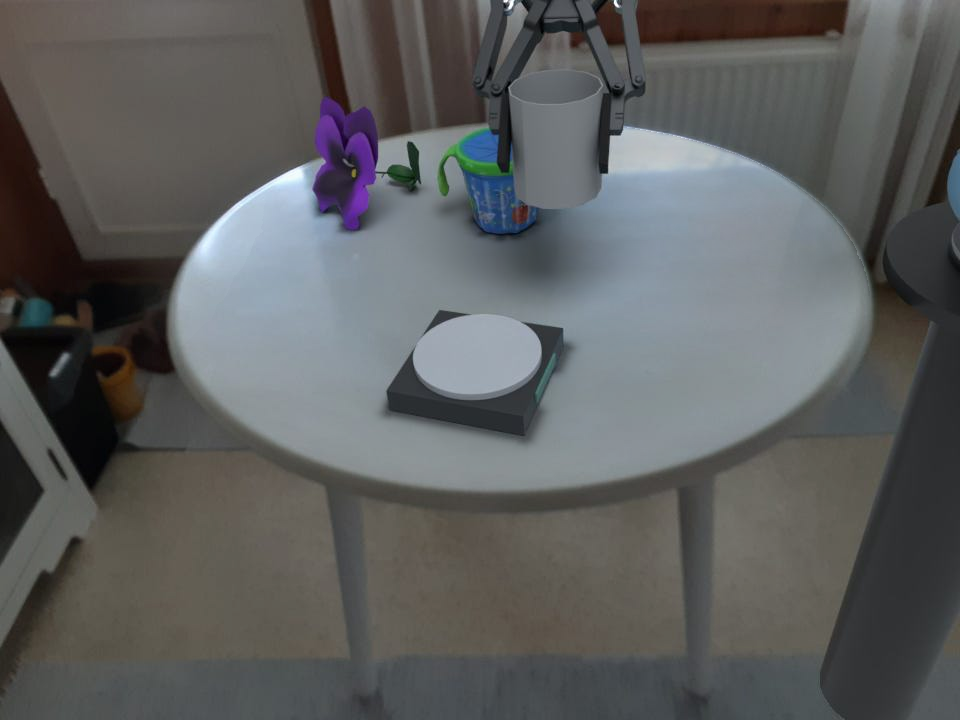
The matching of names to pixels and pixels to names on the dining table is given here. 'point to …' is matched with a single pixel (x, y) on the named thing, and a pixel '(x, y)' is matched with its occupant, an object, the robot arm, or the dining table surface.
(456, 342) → the scale
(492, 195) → the snack cup
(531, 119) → the cup
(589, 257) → the dining table surface
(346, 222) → the flower
